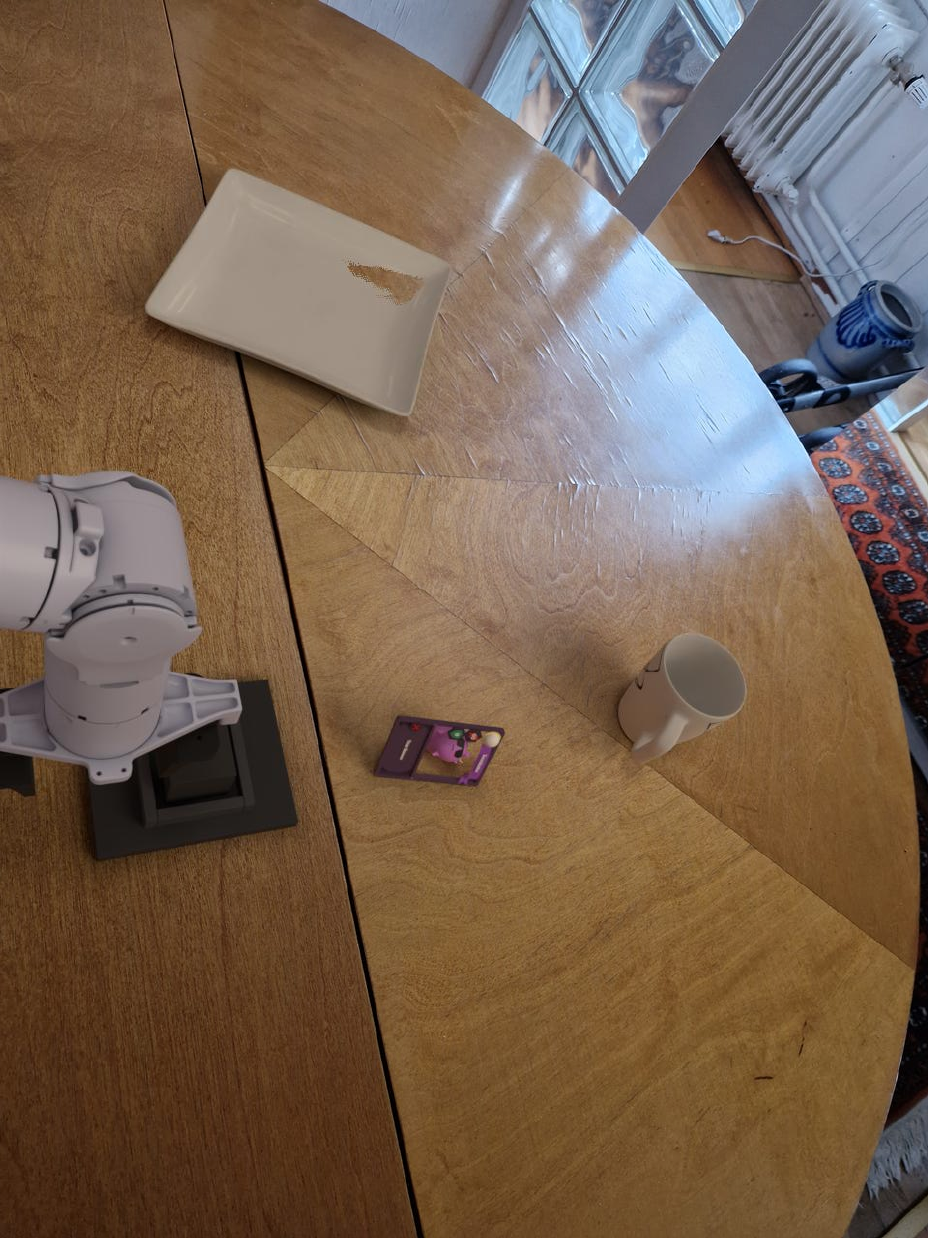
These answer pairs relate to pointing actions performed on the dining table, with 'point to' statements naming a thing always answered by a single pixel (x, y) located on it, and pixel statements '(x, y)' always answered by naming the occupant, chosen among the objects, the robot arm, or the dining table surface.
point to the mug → (680, 695)
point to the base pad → (253, 804)
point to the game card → (435, 748)
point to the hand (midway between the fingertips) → (97, 771)
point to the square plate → (303, 292)
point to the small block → (203, 775)
